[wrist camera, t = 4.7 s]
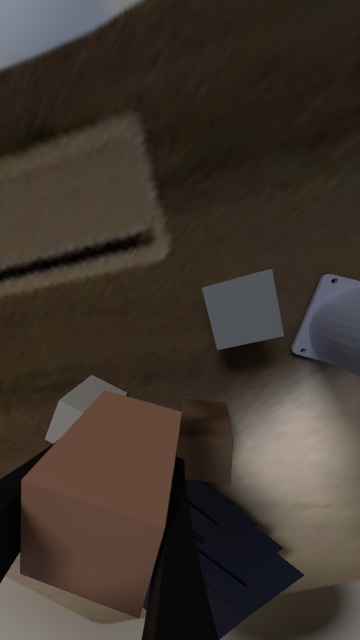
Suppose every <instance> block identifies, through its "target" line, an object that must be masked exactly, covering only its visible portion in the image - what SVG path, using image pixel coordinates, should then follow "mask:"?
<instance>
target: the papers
mask: <svg viewBox="0 0 360 640" xmlns="http://www.w3.org/2000/svg"><path fill="white" fill-rule="evenodd" d="M186 487H187V496H188V503H189V509H190V515H191V522H192V527H193V533H194V538H195V543H196V548H197V553H198V557H199V562H200V567H201V571H202V575H203V579H204V584H205V588H206V592H207V596H208V600H209V604H210V608H211V612H212V616H213V619H214V623H215V627H216V630H217V634H218V637H219V639H221V638H222V637H223V636H224V635H226V634H227V633H228V632H229V631H231V630H232V629H233V628H234V627H235V626H237V625H238V624H239V623H241V622H242V621H243V620H244V619H245V618H247V617H248V616H249V615H251V614H252V613H253V612H255V611H256V610H257V609H259V608H260V607H262V606H263V605H264V604H266V603H267V602H268V601H270V600H271V599H272V598H274V597H275V596H277V595H278V594H279V593H281V592H282V591H284V590H285V589H286V588H288V587H289V586H290V585H292V584H293V583H294V582H296V581H297V580H299V579H300V578H301V577H303V576H304V574H302V573H301V572H300V571H299V570H297V569H296V568H295V567H294V566H292V565H291V564H290V563H288V562H287V561H286V560H285V559H283V558H282V557H281V556H280V555H278V554H277V553H278V552H279V551H280V550H282V549H283V547H281V546H280V545H279V544H277V543H276V542H275V541H274V540H272V539H271V538H270V537H268V536H267V535H266V534H265V533H263V532H262V531H261V530H260V529H258V528H257V527H256V526H258V524H256V523H255V522H254V521H253V520H251V519H250V518H249V517H247V516H246V515H245V514H244V513H242V512H241V511H240V510H239V509H237V508H236V507H235V506H233V505H232V504H231V503H230V502H228V501H225V500H224V499H223V498H221V497H220V496H219V495H217V494H216V493H215V492H213V491H212V490H211V489H209V488H208V487H207V486H205V485H204V484H203V483H201V482H200V481H195V480H187V479H186ZM151 579H152V576H151ZM151 579H150V583H149V586H148V590H147V593H146V597H145V600H144V604H143V607H144V608H145V609H146V610H147V607H148V600H149V593H150V587H151Z"/></svg>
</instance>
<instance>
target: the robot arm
mask: <svg viewBox="0 0 360 640" xmlns="http://www.w3.org/2000/svg"><path fill="white" fill-rule="evenodd" d="M332 279H334V283H333V284H332V282H331V281H332ZM301 349H304V350H303V352H300V351H301ZM291 351H292V352H293V353H295V354H298V355H301V356H305V357H309V358H312V359H316V360H319V361H323V362H327V363H330V364H334V365H337V366H341V367H344V368H346V369H347V370H349V371H351V372H353V373H355V374H356V375H358V376H360V281H357V280H353V279H349V278H344V277H340V276H336V275H332V274H326V275H323V276H322V277H321V279H320V281H319V284H318V286H317V288H316V291H315V293H314V295H313V298H312V300H311V302H310V305H309V307H308V309H307V312H306V314H305V316H304V319H303V321H302V323H301V326H300V328H299V330H298V333H297V335H296V337H295V340H294V342H293V344H292V347H291ZM57 441H58V440H57ZM57 441H56V442H57ZM56 442H55V443H56ZM55 443H53V444H52V445H50V446H49V447H48V448H46V449H45V450H43V451H42V452H41V453H39V454H38V455H36V456H35V457H33V458H32V459H30V460H29V461H28V462H26V463H25V464H23V465H22V466H20V467H18V468H17V469H15V470H14V471H12V472H11V473H9V474H8V475H6V476H5V477H3V478H2V479H0V583H1V581H2V580H3V578H4V576H5V575H6V573H7V572H8V570H9V568H10V567H11V565H12V564H13V562H14V560H15V559H16V557H17V556H18V554H19V553H20V546H21V480H22V479H23V478H24V477H25V475H26V474H27V473H28V472H29V471H30V470H31V469H32V468H33V467H34V466H35V465H36V464H37V462H38V461H39V460H40V459H41V458H42V457H43V456H44V455H45V454H46V453H47V452H48V451H49V450H50V448H51V447H52V446H53V445H54V444H55ZM142 640H219V637H218V634H217V630H216V627H215V623H214V619H213V616H212V612H211V608H210V604H209V600H208V596H207V592H206V588H205V584H204V579H203V575H202V571H201V567H200V562H199V557H198V553H197V548H196V543H195V538H194V533H193V527H192V522H191V515H190V509H189V503H188V496H187V487H186V478H185V461H184V459H182V458H179V457H175V463H174V470H173V476H172V483H171V490H170V497H169V504H168V511H167V517H166V524H165V529H164V533H163V537H162V540H161V544H160V547H159V551H158V554H157V558H156V561H155V565H154V568H153V572H152V579H151V587H150V593H149V600H148V607H147V612H146V618H145V625H144V630H143V636H142Z"/></svg>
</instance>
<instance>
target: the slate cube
mask: <svg viewBox="0 0 360 640" xmlns="http://www.w3.org/2000/svg"><path fill="white" fill-rule="evenodd" d="M202 292H203V296H204V300H205V304H206V308H207V312H208V316H209V320H210V324H211V328H212V332H213V336H214V340H215V343H216V347H217V350H221V349H225V348H230V347H235V346H239V345H244V344H249V343H253V342H258V341H263V340H267V339H272V338H277V337H282V336H284V333H283V327H282V322H281V317H280V311H279V306H278V300H277V295H276V289H275V284H274V278H273V273H272V269H270V270H266V271H262V272H258V273H254V274H250V275H247V276H243V277H239V278H236V279H232V280H229V281H225V282H222V283H218V284H214V285H211V286H207V287H204V288H202Z"/></svg>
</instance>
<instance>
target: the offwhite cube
mask: <svg viewBox="0 0 360 640" xmlns="http://www.w3.org/2000/svg"><path fill="white" fill-rule="evenodd" d="M104 390H105V391H109V392H113V393H116V394H120V395H123V396H126V395H127V393H126V392H124V391H122V390H120V389H118V388H117V387H115V386H113V385H111V384H109V383H107V382H105V381H103V380H101V379H99V378H97V377H95V376H93V375H91V376H90V377H89V378H87V379H86V380H85V381H83V382H82V383H81V384H80V385H78V386H77V387H76V388H74V389H73V390H72V391H71V392H69V393H68V394H67V395H65V396H64V397H63V398H61V399H60V400H59V402H58V405H57V408H56V410H55V413H54V416H53V418H52V421H51V424H50V427H49V429H48V432H47V435H46V438H45V440H47V441H49V442H51V443H55V442H56V441H57V440H59V439H60V438H61V437H62V436H63V434H64V433H65V432H66V431H67V430H68V429H69V428H70V427H71V426H72V425H73V424H74V423H75V422H76V420H77V419H78V418H79V417H80V416H81V415H82V414H83V413H84V412H85V411H86V410H87V409H88V407H89V406H90V405H91V404H92V403H93V402H94V401H95V400H96V399H97V398H98V397H99V396H100V395H101V393H102V392H103V391H104Z"/></svg>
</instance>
